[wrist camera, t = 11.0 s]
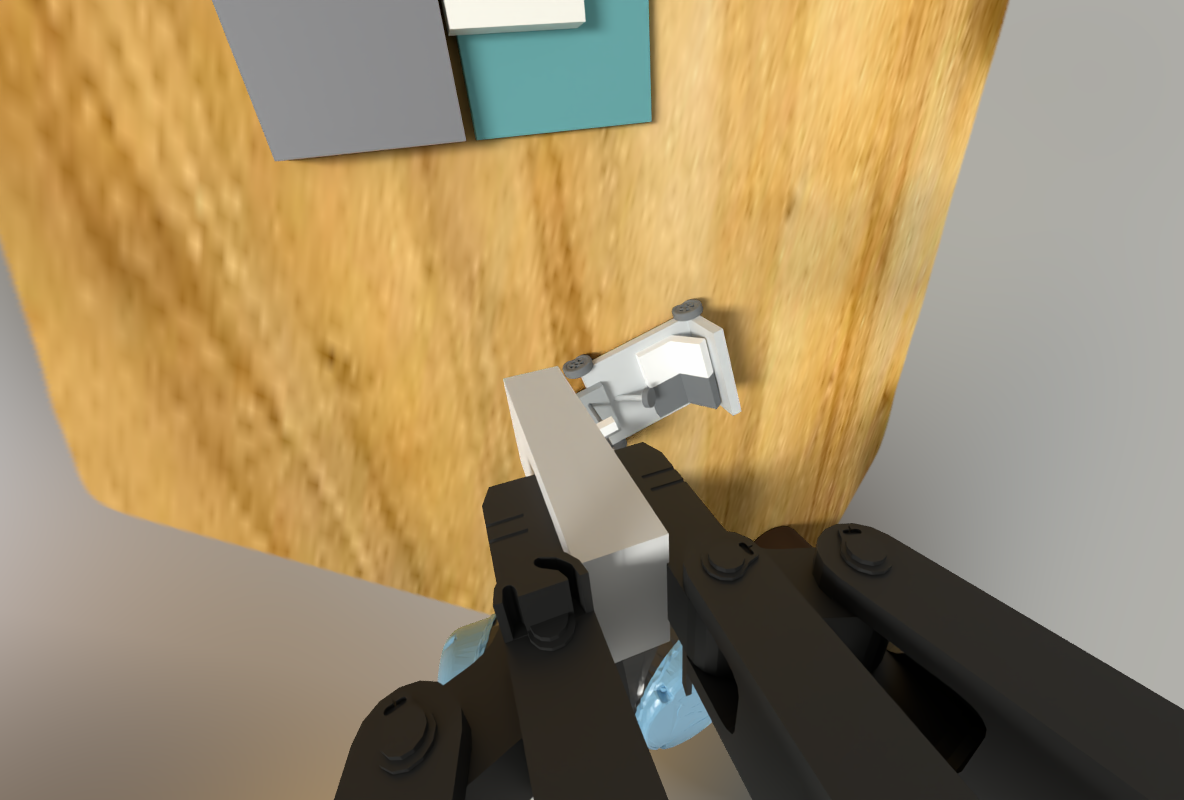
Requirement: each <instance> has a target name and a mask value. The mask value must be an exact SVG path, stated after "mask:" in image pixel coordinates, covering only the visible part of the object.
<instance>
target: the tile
mask: <svg viewBox="0 0 1184 800" xmlns="http://www.w3.org/2000/svg"><path fill="white" fill-rule="evenodd" d="M441 3H442V8H443V13H444V17H445V22H446V27H447V32H448V36H456V35H472V34H489V33H505V32H522V31H538V30H555V29H571V28H578V27H579V26H580V25H582V24H583V23H584V22H586V20H585V8H584V0H441Z"/></svg>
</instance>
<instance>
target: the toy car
mask: <svg viewBox="0 0 1184 800" xmlns="http://www.w3.org/2000/svg"><path fill="white" fill-rule="evenodd" d="M702 312H703V307H702V303H701V302H700V301H699V300H696V299H690V300H687V301H685V302H684V303H683V304H681V305H678V306H675V307H674V308H673V309H672V314H673V317H674V318H673V319H671V320H669V321H667V322H665V323H663V324H662V325H660V326H658V327H656V328H654V329H652V330H650V331H648V332H646V333H644V334H642V335H640V336H638V337H636V338H634V339H632V340H630V341H629V342H627V343H625V344H623V345H621V346H619V347H617V348H615V349H613V350H611V351H609V352H607V353H605V354H603V355H601V356H599V357H597V358H596V359H594V360H592V359H591V357H590V356H588V355H580V356H578V357H577V358H576V359H574V360H572V361H568V362H566V363H565V364H564V366H563V372H564V374H565V376H566V377H567V378H570V379H576V378H580V377H581V378H582V380H583V382H584V384H585V387H586V389H584V390H582V391H581V392H579V393H577V394H576V395H577V396H578V398H579V399H580V401H581V402H582V404H583V405H584V407H585V408H586V410H587V411H588V413H589V414H590V416H591V417H592V419H593V420H594V422H595V423H596V425H597V426H598V428H599V429H600V431H601V432H602V434H603V435H604V437H605V438H606V440H607V441H608V443H609V444H610V446H611V447H612V449H613V450H617V449H620V448H624V447H626V446H627V441H626V439H625V438H627V437H629V436H631V435H632V434H634V433H636V432H638V431H640V430H642V429H644V428H646V427H647V426H649V425H651V424H653V423H655V422H657V421H659V420H660V419H662V418H664V417H666V416H668V415H670V414H672V413H673V412H675V411H677V410H679V409H681V408H683V407H685V406H687V405H688V404H690V403H692V404H697V405H701V406H706V407H710V408H714V409H717V408H718V407H719V405H721V406H722V407H723V408H724V409H726V410H727V411H728V412H729V413H730V414H732V415H733V416H734V415H735V414H737V413H739V412H741V407H740V403H739V398H738V394H737V390H736V385H735V381H734V376H733V372H732V367H731V363H730V359H729V354H728V350H727V345H726V341H725V336H724V332H723V328H721V327H719V326H717V325H716V324H714V323H712V322H710V321H709V320H707V319H705V318H703V317H702V316H700V314H701V313H702Z"/></svg>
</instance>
